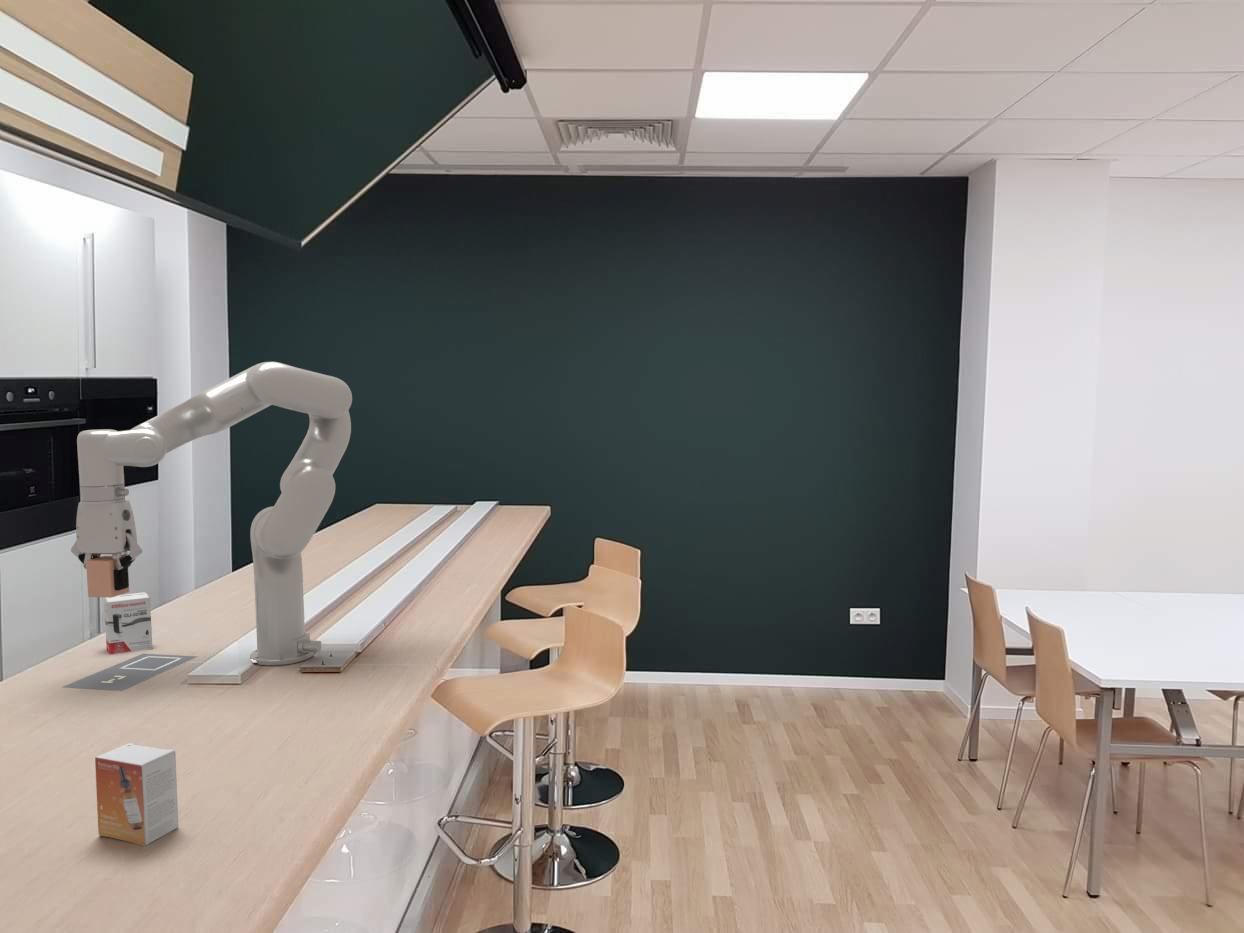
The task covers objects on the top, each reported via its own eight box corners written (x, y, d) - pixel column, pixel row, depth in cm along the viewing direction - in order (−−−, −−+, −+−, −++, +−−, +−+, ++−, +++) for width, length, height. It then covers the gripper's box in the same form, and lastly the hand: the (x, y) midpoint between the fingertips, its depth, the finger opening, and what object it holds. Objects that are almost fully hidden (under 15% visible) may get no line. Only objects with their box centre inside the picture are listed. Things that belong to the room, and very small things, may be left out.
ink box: (109, 656, 209) (106, 600, 208) (106, 650, 213) (103, 596, 212) (153, 649, 214) (150, 595, 212) (150, 644, 218) (147, 591, 217)
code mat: (198, 657, 207) (197, 656, 207) (121, 692, 184) (121, 690, 184) (143, 654, 209) (143, 653, 209) (61, 688, 187) (61, 687, 187)
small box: (97, 836, 126) (92, 756, 125) (133, 818, 131) (129, 741, 130) (145, 846, 123) (140, 765, 122) (180, 827, 128) (176, 749, 127)
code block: (129, 591, 192) (127, 556, 191) (111, 597, 187) (108, 561, 186) (106, 591, 193) (104, 555, 192) (88, 596, 188) (85, 560, 187)
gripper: (155, 492, 190) (160, 585, 192) (78, 491, 193) (84, 583, 195) (128, 497, 183) (134, 594, 184) (49, 496, 186) (55, 591, 188)
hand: (108, 587), depth 190 cm, fingers closed on code block, 5 cm apart
